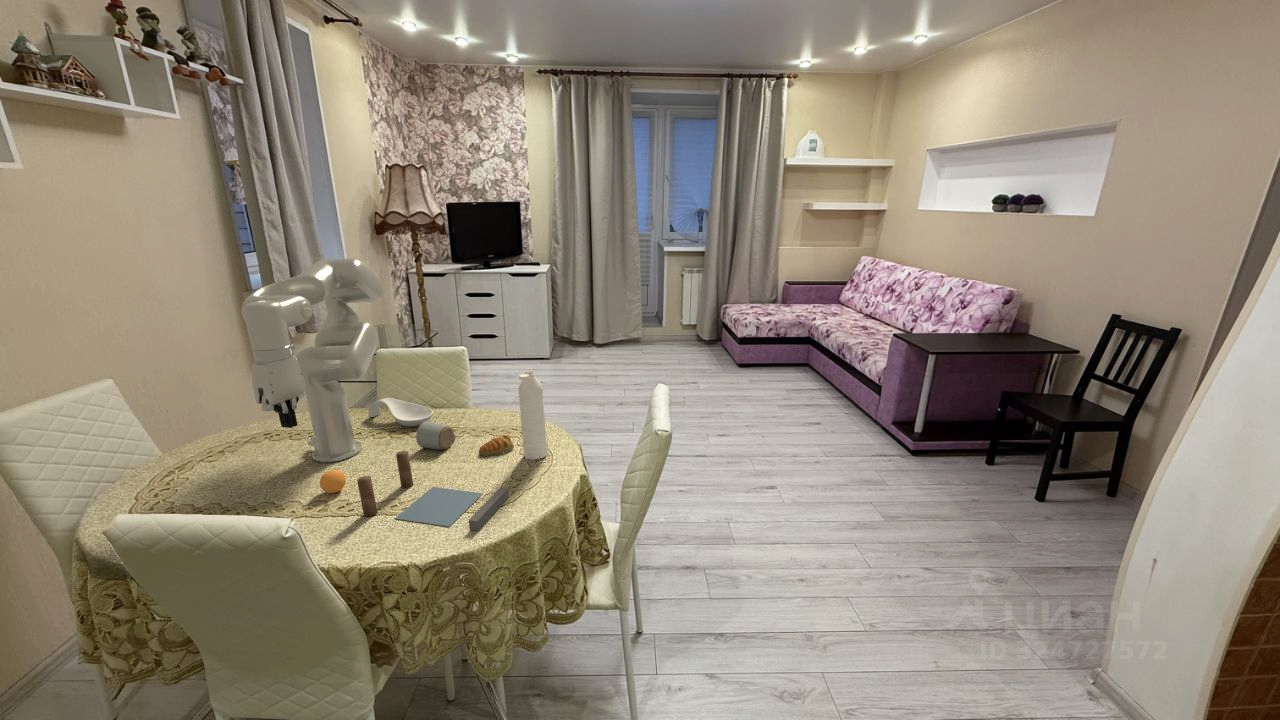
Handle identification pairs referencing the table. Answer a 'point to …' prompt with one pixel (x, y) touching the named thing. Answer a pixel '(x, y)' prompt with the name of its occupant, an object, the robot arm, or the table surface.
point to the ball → (332, 481)
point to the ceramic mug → (434, 435)
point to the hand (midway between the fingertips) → (289, 426)
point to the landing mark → (439, 506)
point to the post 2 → (404, 469)
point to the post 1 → (367, 496)
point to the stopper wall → (488, 509)
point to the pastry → (497, 446)
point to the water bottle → (532, 416)
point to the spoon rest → (403, 411)
